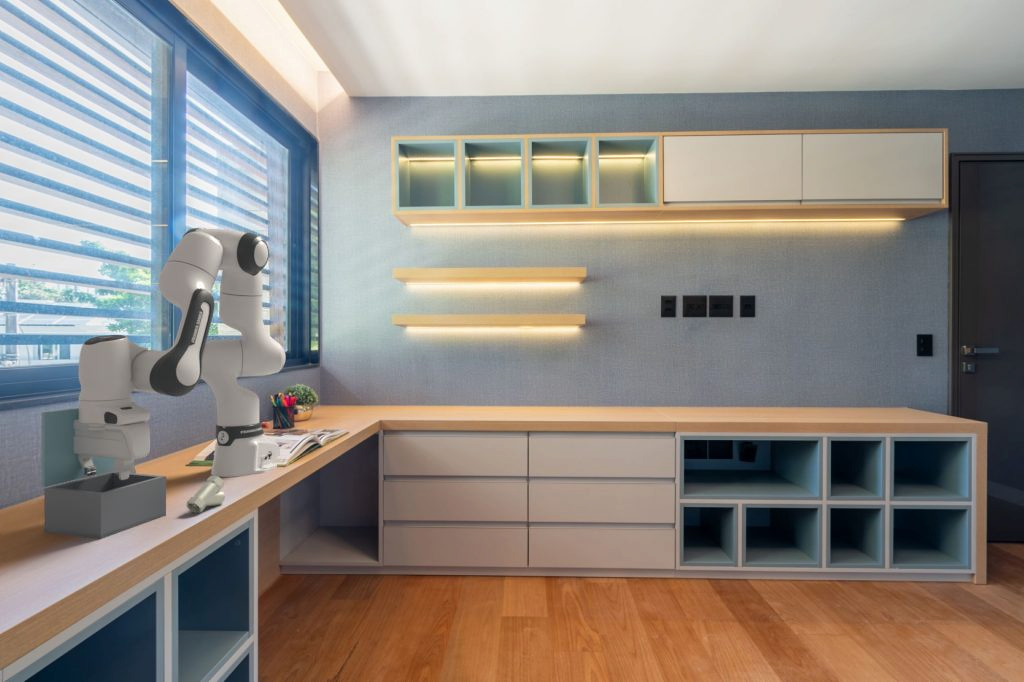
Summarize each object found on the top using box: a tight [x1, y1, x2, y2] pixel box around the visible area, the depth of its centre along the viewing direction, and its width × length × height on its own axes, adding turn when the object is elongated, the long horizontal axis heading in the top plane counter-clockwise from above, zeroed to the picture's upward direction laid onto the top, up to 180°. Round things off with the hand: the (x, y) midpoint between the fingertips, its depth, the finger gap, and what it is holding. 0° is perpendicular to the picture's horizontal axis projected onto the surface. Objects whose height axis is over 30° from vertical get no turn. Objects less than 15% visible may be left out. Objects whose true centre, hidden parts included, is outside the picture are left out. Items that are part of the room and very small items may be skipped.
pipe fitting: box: [186, 475, 226, 514], centre depth 119 cm, size 8×4×7 cm
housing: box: [43, 472, 167, 540], centre depth 110 cm, size 14×15×9 cm
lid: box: [41, 407, 114, 488], centre depth 112 cm, size 14×15×1 cm
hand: (105, 477), depth 110 cm, fingers open, 8 cm apart
